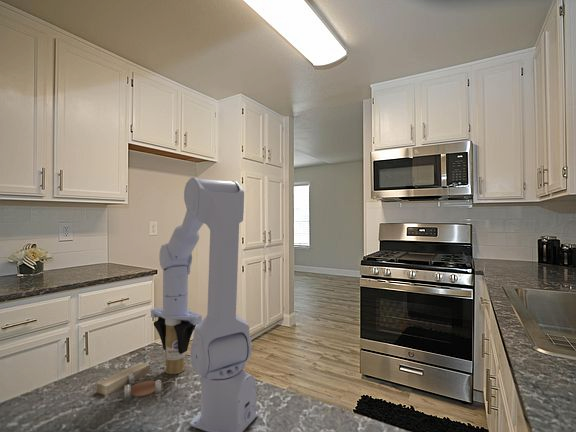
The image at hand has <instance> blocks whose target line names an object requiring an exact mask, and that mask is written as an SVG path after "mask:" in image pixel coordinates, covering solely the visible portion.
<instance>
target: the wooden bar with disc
mask: <svg viewBox="0 0 576 432" xmlns="http://www.w3.org/2000/svg"><path fill="white" fill-rule="evenodd" d="M150 367H151V365H150V364H149V363H146V362H142V361H140V362H138V363H136V364H134V365H132V366H130V367H128V368H125V369H124V370H121V371H120V372H118V373H115V374H113V375H111V376H109V377H107V378H105V379H103V380H100V381H98V382H97V383H96V393H97V394H100V395H103V396H108V395H111V394H112V393H114V392H116V391H118V390H119V389H122V388H124V386H125V385H128V373H129V372H134V382H135V381H136V380H139V379H140V378H143V377H144V376H146V375H148V374H150V373H151V368H150ZM155 381H156V380H155ZM155 381H154V380H145V381H141V382H138V383H136V384H133V385H131V396H137V397H139V396H146V395H149V394H152V393H155Z"/></svg>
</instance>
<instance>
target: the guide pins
mask: <svg viewBox="0 0 576 432" xmlns="http://www.w3.org/2000/svg"><path fill="white" fill-rule="evenodd" d="M134 385H135V381H134V372H129V373H128V384H127V385H125V386H124V387H123V388H124V389H123V390H124V395H123V398H124V400H129V399H131V397H132V395H131V387H132V386H134ZM161 393H162V379H160V378H159V379H156V380H155V391H154V394H155V395H160V394H161Z"/></svg>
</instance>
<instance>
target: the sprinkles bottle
mask: <svg viewBox="0 0 576 432" xmlns="http://www.w3.org/2000/svg"><path fill="white" fill-rule="evenodd" d="M180 323H181V320H176V319H165V324H166V350H165V374H168V375H177V374H178V375H179V374H180V373H182V372H184V371H185V370H186V369H185V368H186V366H185V354H186V352H184V353H182V354H179V351H178V338H177V334H176V331H175V328H174V326H175V325H177V324H180Z"/></svg>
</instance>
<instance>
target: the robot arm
mask: <svg viewBox="0 0 576 432" xmlns="http://www.w3.org/2000/svg"><path fill="white" fill-rule="evenodd" d="M183 194H184V195H183V199H184V204H185V208H186V212H185V215H184V218H183V222H182V224H180V225H178V226H176V227H175V228H174V230H173V233H172V235H171V236H170V239H169V241H168V243H165V244H162V245H160V246H161V247H160V249H159V265H160V268H161V269H162V308H161V307H155V308H153V309H150V318H153V319H154V318H155V319H156V318H157V320H155V321H154V322H153V326H154V328H155V329H156V331H157V333H158V336H159V337H160V342H161V344H162V348H163V350H164V351H166V324H165V319H176V320H181V323H180V324H177V325H175V326H174V328H175V331H176V334H177V338H178V351H179V354H182V353H184V352H185V353H186V352H188V349H189V344H190V341H191V339H192V342H191V344H190V351H189V353H190V363H191V366H192V368H193V370H194V372H195V373H196V374H198V375H199V376H200V414H198V415H196V417H194V418H193V419H192V420H191V421H190V422H189V425H190V426H191V427H193V428H195V429H199V430H200V431H204V432H244V431H245V430H246V429H247V427H248V426H249V425H250V424H251V423H252V422H253V421H254V420H255V419H256V417H257V416H258V415H259V412H258V411H257V384H256V379H255V377H254V376H253V375H251V374H249V373H248V372H246V371H245V370H244V369H245V368H246V362H248V361H249V359H250V358H251V355H252V350H253V349H252V348H253V347H252V340H251V335H250V325H249V323H248V322H247V321H246V320H245V319H244V318H242V317H240V316H239V315H237V300H238V299H237V296H238V272H239V271H238V270H239V269H238V266H239V239H240V237H239V236H240V223H242V222H244V212H245V211H244V209H245V191H244V189H243V188H242V186H241V185H240V183H239V182H238V181H236V180H231V181H229V180H219V179H207V178H206V179H205V178H199V177H198V178H197V177H195V176H192V177H190V178H189V179H188V180H187V182H186V183H185V186H184V192H183ZM203 225H206V226H207V228H208V229H209V253H208V254H209V255H208V257H209V258H208V260H209V261H208V283H207V284H208V286H207V288H208V289H207V315H205V317H204V318H203V316H202V314H199V313H195V312H193V311H191V310H190V308H189V305H188V304H189V275H190V274H191V266H192V262H193V255H192V254H193V251H194V249H195V248H196V246H197V244H198V242H199V240H200V233H199V231H200V229H201V228H202V226H203ZM202 318H203V319H202ZM192 335H193V337H192Z"/></svg>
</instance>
